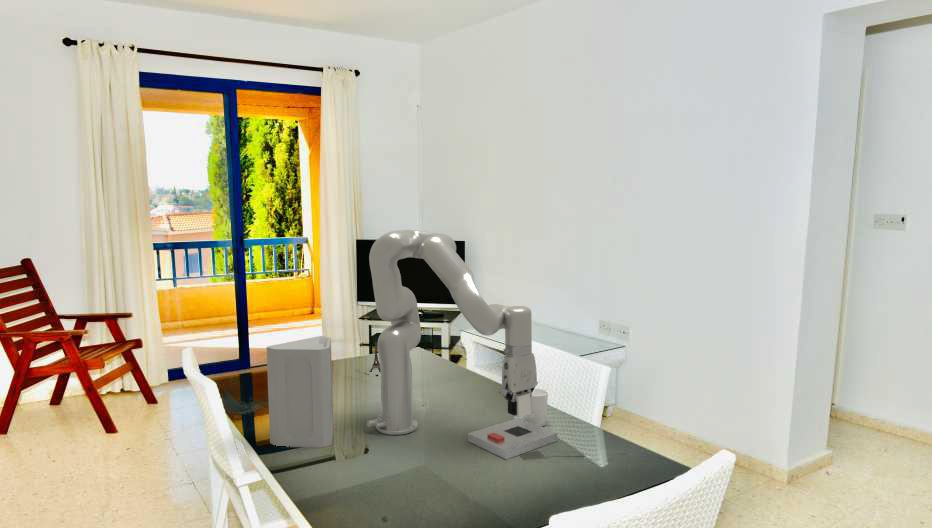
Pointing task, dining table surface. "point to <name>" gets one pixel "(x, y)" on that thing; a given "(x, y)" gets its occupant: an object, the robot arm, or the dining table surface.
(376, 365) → the eiffel tower figurine
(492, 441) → the socket plate
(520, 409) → the plug
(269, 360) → the paper bag
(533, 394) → the white cup
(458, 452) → the dining table surface
